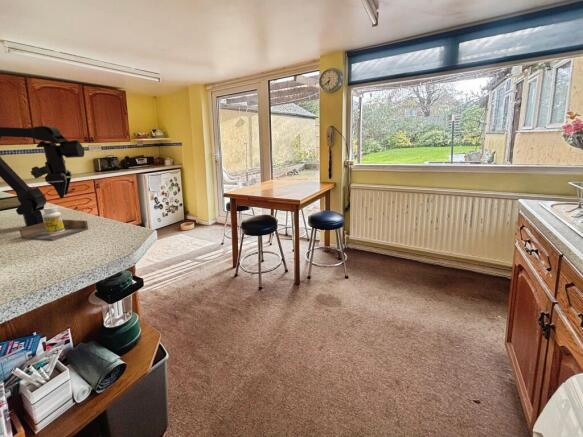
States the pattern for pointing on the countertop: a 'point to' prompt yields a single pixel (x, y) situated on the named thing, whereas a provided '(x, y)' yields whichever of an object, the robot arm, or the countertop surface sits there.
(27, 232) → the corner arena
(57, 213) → the supplement bottle
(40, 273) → the countertop surface
